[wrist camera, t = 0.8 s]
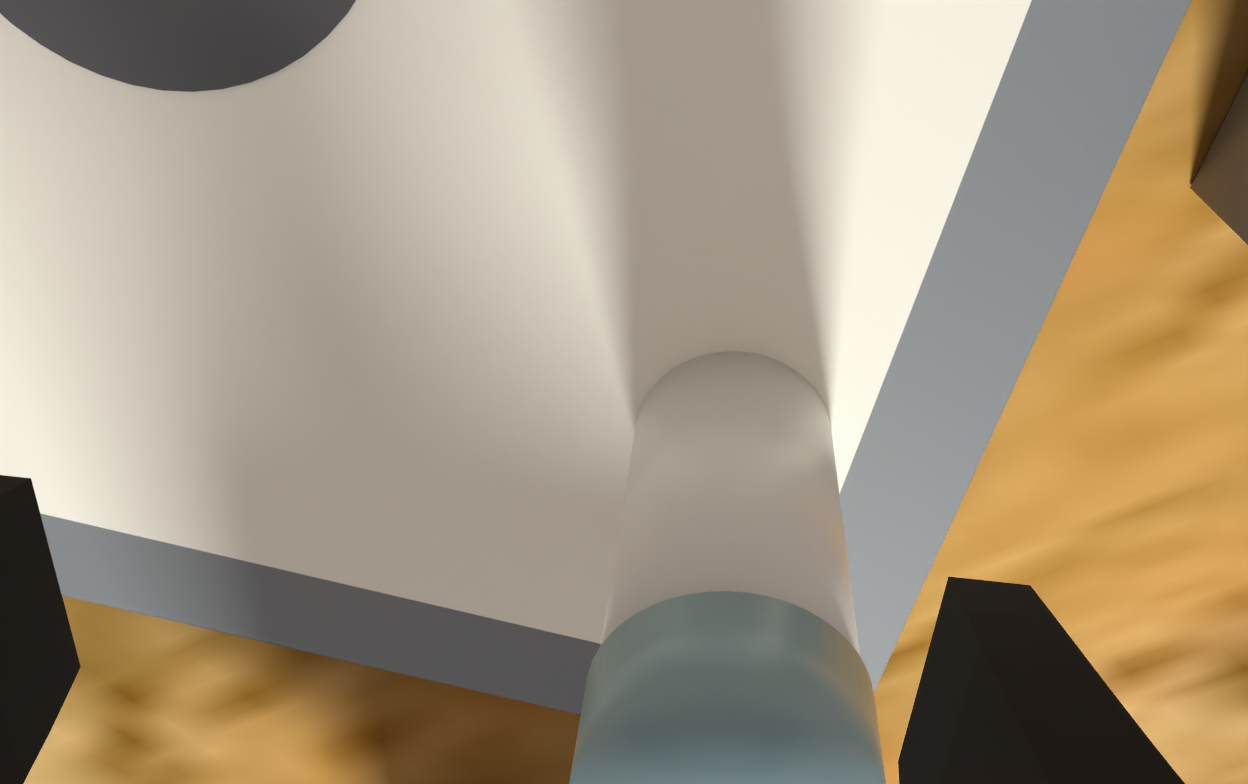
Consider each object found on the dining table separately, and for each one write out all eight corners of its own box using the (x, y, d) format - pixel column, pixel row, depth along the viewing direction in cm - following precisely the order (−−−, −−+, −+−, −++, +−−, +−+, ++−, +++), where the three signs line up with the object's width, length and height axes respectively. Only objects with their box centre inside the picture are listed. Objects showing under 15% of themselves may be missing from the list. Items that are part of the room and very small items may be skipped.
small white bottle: (802, 541, 20) (833, 977, 13) (610, 496, 19) (536, 909, 13) (865, 374, 18) (943, 770, 11) (655, 323, 18) (598, 691, 11)
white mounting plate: (833, 742, 23) (837, 780, 22) (-144, 516, 22) (-178, 546, 22) (1469, -678, 12) (1521, -708, 11) (-408, -1188, 12) (-497, -1260, 11)
